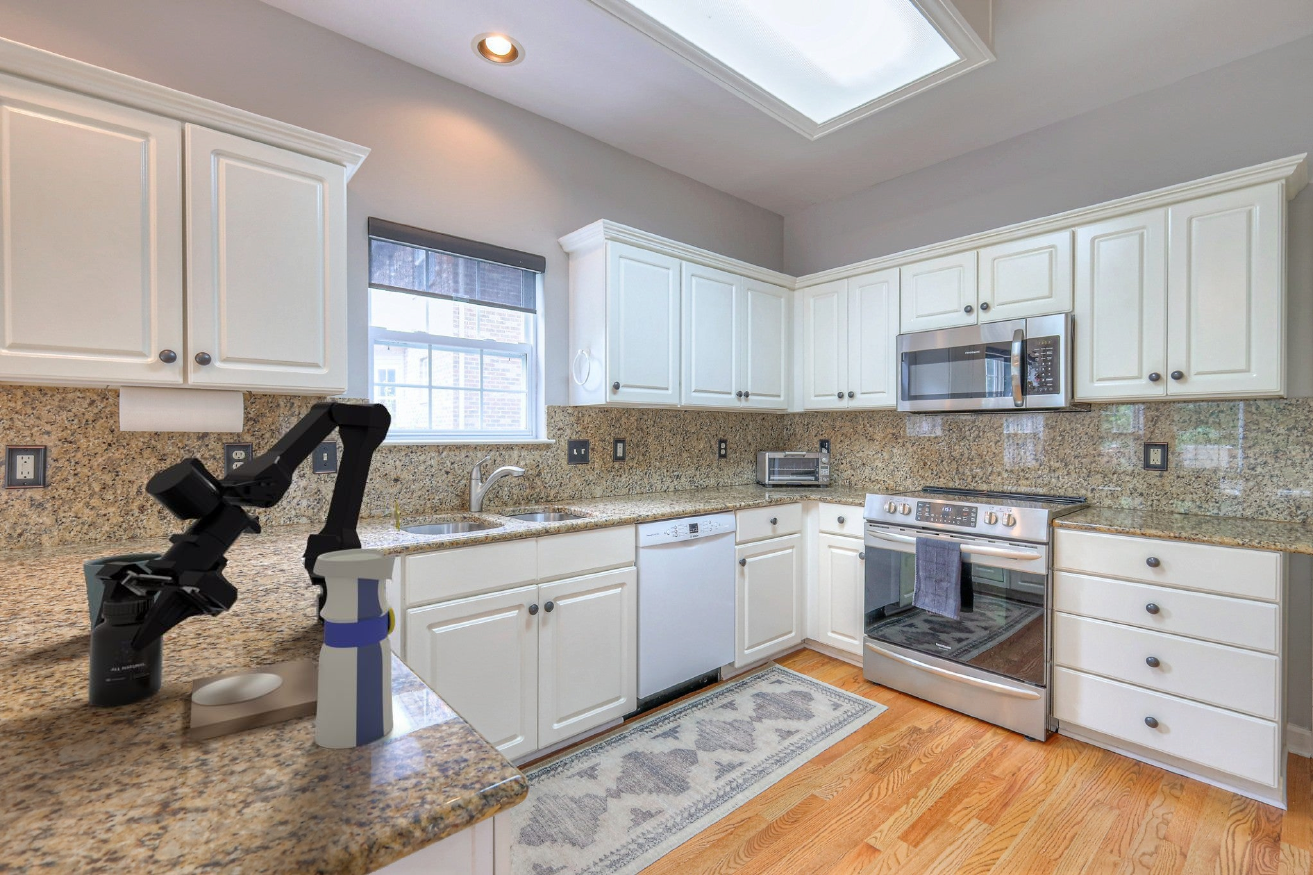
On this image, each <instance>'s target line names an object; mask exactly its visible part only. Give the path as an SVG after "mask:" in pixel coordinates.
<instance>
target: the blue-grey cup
mask: <svg viewBox="0 0 1313 875" xmlns="http://www.w3.org/2000/svg"><path fill="white" fill-rule="evenodd" d="M164 554H165V553H159V552H142V553H141V552H140V553H128V554H120V555H114V556H113V555H112V556H111V555H110V556H105V557H100V558H96V559H91V560H87V561H85V562H84V563H83V566H82V567H83V573H84V574H83V575H84V579H85V580H84V581H85V587H86V595H87V597H86V599H87V601H88V604H87V607H88V613H89V622H90V633H92V631H93V629H94V626H95V623H96V619H97V616H98V613H99V609H100V606H101V601H102V596H103V592H104V587H105V586H104V585H102V581H100V580H99V579H97V578H96V577H95V574H96V573H97V572H98V571H99V570H100V569H101V568H102V567H103V566H104V565H105V564H106V563H112V562H127V563H135V564H137V565H138V566H139V567H141V568H142V569H144V570H145V571H146V572H148V573H149V574H150V573H151V572H152V571H151V570H149V569H148V568H147V567H145V566H144V565H145V564H146V563H147V562H148V561H149V560H150V559H155V560H159V559H160V558H161V557H162V556H163V555H164ZM150 575H151V574H150ZM162 584H163V583H162ZM160 592H161V591H159V592H158V593H157V594H156V595H155V596H154V603H155V601H156V599H157V598H158V596H159V594H160Z"/></svg>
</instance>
